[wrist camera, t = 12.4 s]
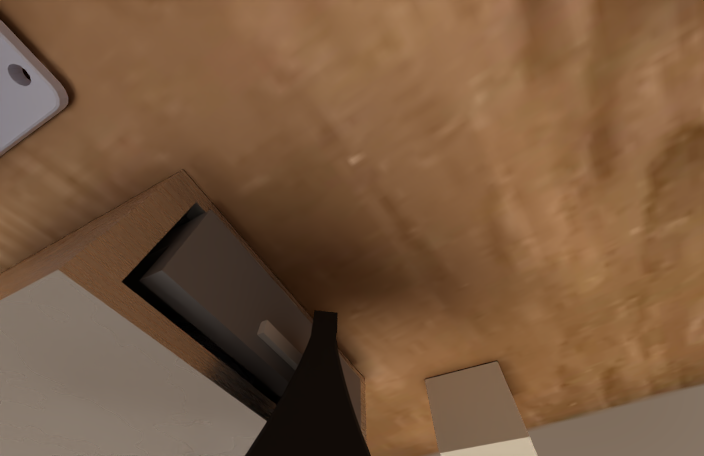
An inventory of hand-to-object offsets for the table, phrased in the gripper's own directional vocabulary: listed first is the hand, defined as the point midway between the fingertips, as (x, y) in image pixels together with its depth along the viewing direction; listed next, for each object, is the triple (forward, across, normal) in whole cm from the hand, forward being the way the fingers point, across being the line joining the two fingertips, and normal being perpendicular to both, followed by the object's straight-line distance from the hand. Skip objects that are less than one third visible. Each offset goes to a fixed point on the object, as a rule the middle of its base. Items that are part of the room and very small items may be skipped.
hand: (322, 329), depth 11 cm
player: (+2, +6, +5) cm, 8 cm away
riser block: (+2, -9, +7) cm, 11 cm away
